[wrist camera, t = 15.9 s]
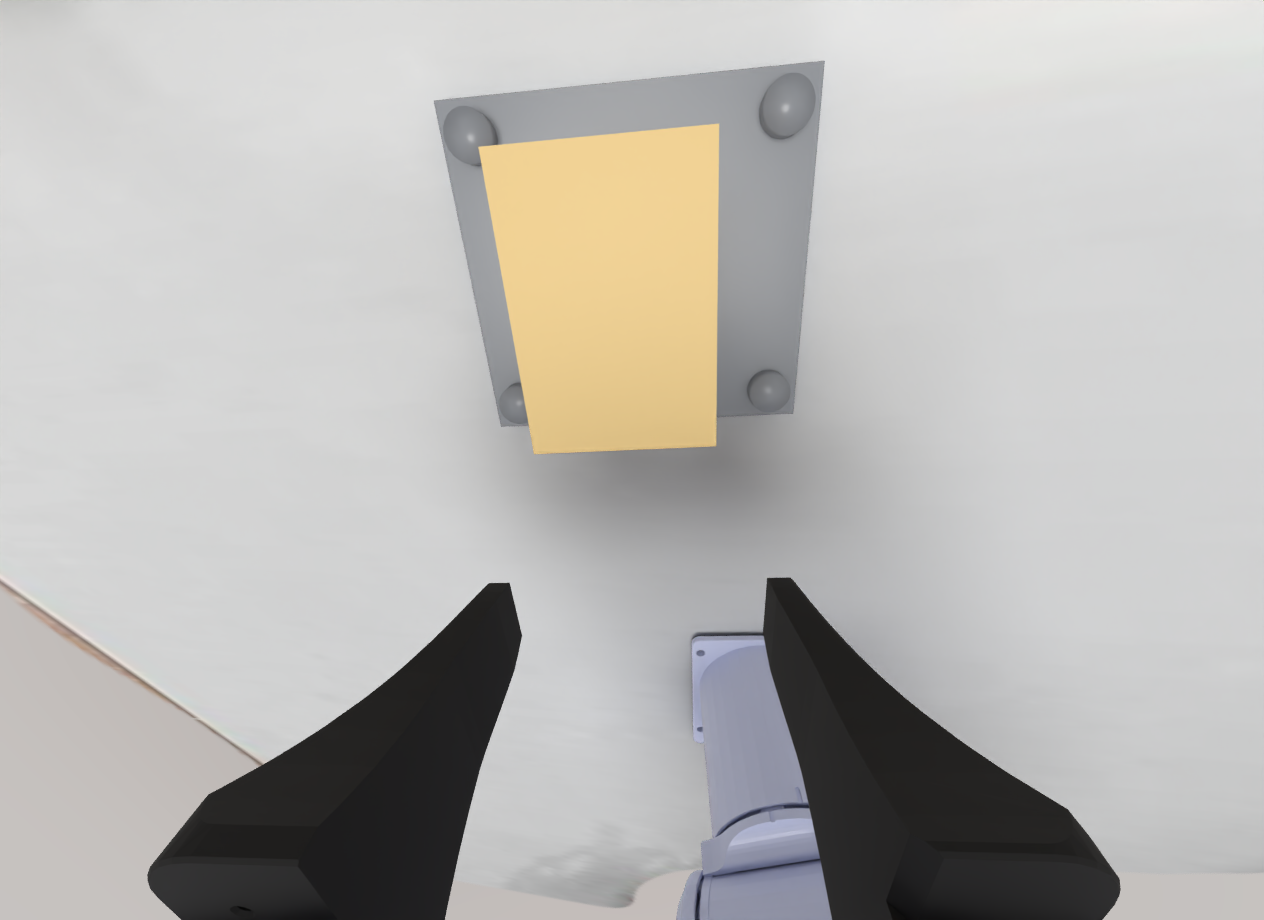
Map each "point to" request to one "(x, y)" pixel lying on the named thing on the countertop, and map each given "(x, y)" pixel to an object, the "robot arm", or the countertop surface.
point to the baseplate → (747, 208)
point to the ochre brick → (611, 285)
